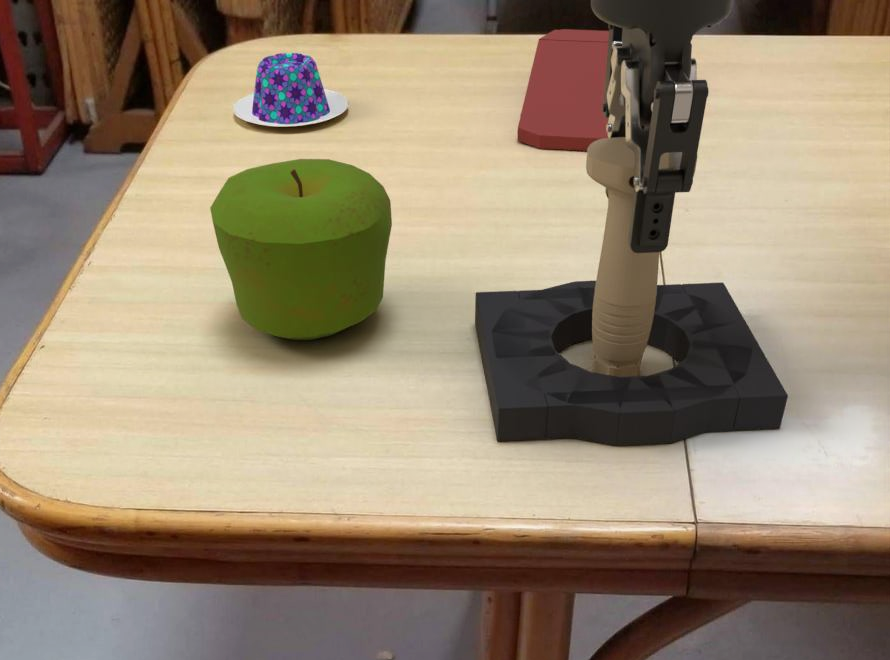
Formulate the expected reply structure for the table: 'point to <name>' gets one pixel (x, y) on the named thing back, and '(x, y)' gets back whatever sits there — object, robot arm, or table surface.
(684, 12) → the robot arm
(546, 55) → the red chamfered slab
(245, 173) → the apple
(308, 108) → the pudding
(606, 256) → the handle
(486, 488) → the table surface
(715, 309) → the black plate with hole
